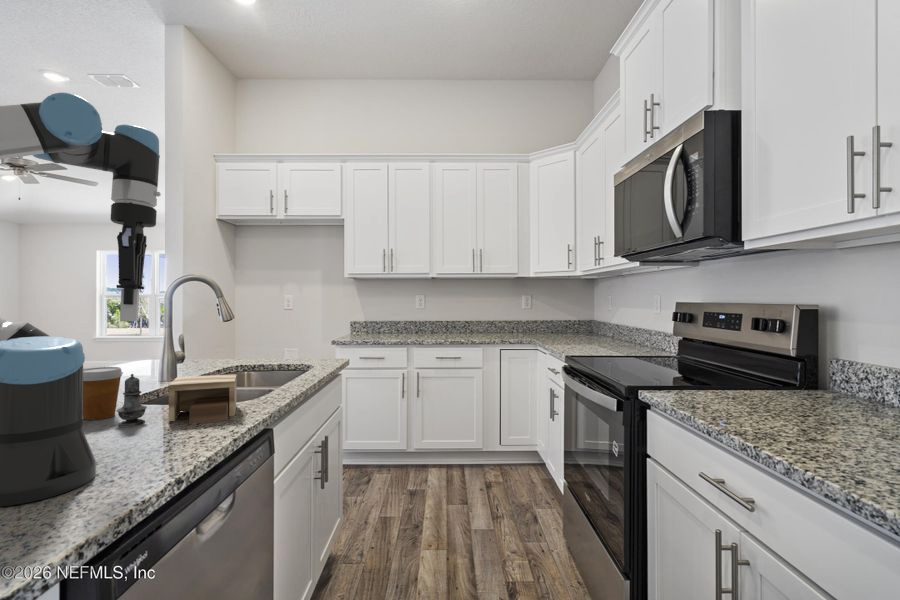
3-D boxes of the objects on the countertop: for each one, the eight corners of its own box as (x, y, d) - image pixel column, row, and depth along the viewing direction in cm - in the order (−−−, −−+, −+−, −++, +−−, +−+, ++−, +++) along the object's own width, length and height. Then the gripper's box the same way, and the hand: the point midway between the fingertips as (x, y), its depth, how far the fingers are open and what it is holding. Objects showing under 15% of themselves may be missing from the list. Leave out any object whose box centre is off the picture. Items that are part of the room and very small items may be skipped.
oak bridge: (234, 416, 112) (234, 381, 112) (168, 422, 106) (168, 385, 106) (236, 406, 122) (236, 374, 122) (176, 411, 116) (176, 377, 116)
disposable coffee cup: (70, 424, 104) (71, 373, 104) (78, 414, 112) (78, 368, 112) (120, 418, 109) (120, 370, 109) (124, 410, 117) (125, 365, 117)
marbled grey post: (142, 425, 103) (143, 374, 103) (112, 428, 101) (113, 376, 101) (149, 419, 109) (150, 371, 108) (121, 421, 106) (121, 372, 106)
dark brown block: (226, 422, 108) (226, 406, 108) (189, 425, 105) (189, 408, 105) (230, 410, 119) (230, 396, 119) (197, 413, 116) (197, 398, 116)
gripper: (150, 201, 85) (144, 322, 84) (162, 213, 96) (157, 320, 96) (102, 195, 81) (95, 322, 81) (120, 209, 93) (115, 319, 93)
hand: (128, 320), depth 88 cm, fingers closed
